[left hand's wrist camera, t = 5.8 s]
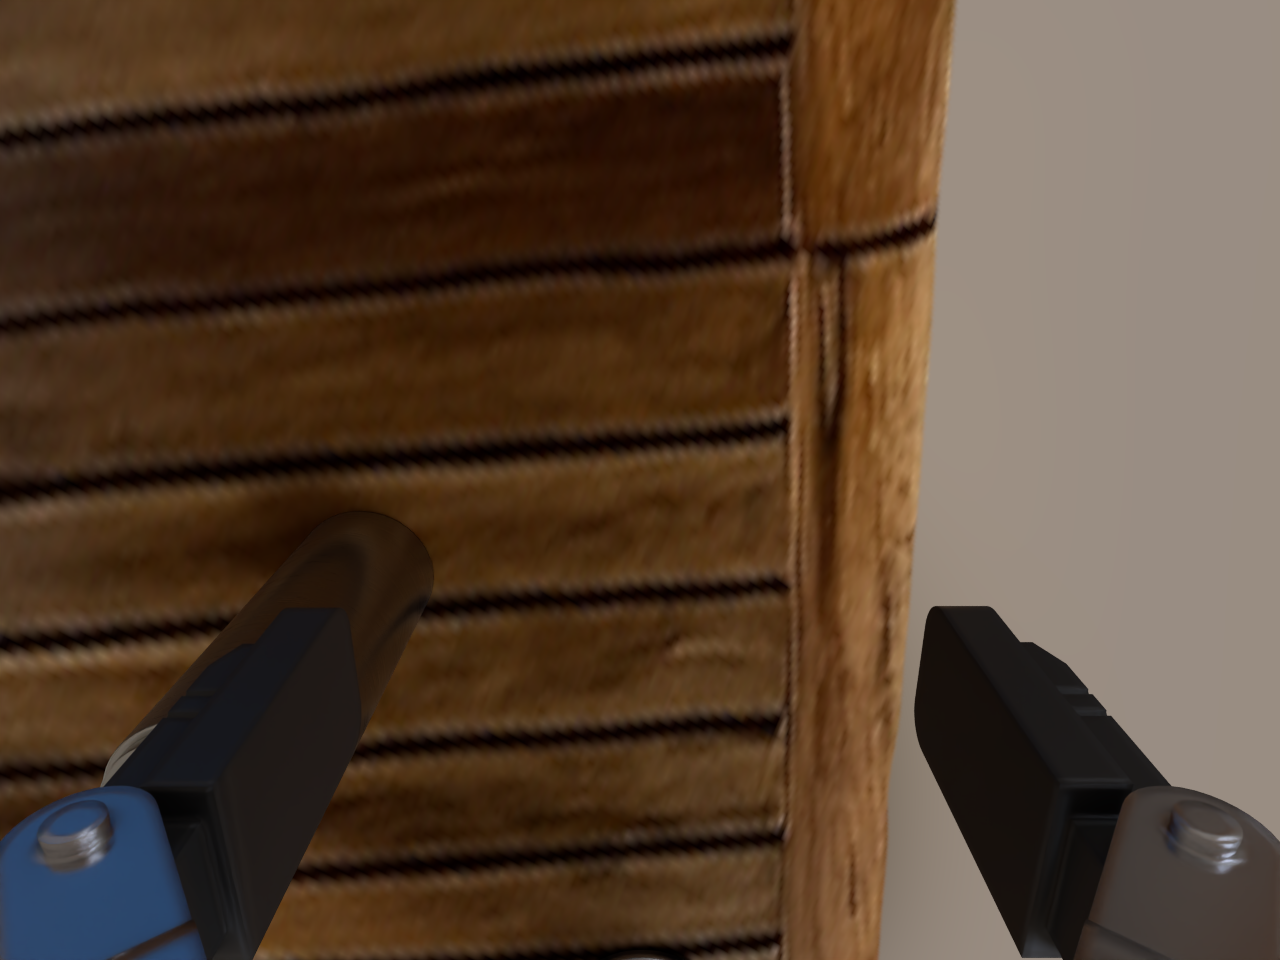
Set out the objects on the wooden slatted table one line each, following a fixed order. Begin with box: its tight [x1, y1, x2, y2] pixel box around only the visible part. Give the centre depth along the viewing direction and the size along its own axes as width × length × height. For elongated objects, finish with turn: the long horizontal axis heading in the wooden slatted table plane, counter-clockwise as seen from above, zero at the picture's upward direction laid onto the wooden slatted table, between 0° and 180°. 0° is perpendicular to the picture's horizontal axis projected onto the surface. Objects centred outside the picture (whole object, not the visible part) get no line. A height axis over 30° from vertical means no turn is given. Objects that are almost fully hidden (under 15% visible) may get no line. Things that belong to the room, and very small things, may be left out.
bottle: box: [101, 511, 434, 817], centre depth 33 cm, size 7×7×22 cm
